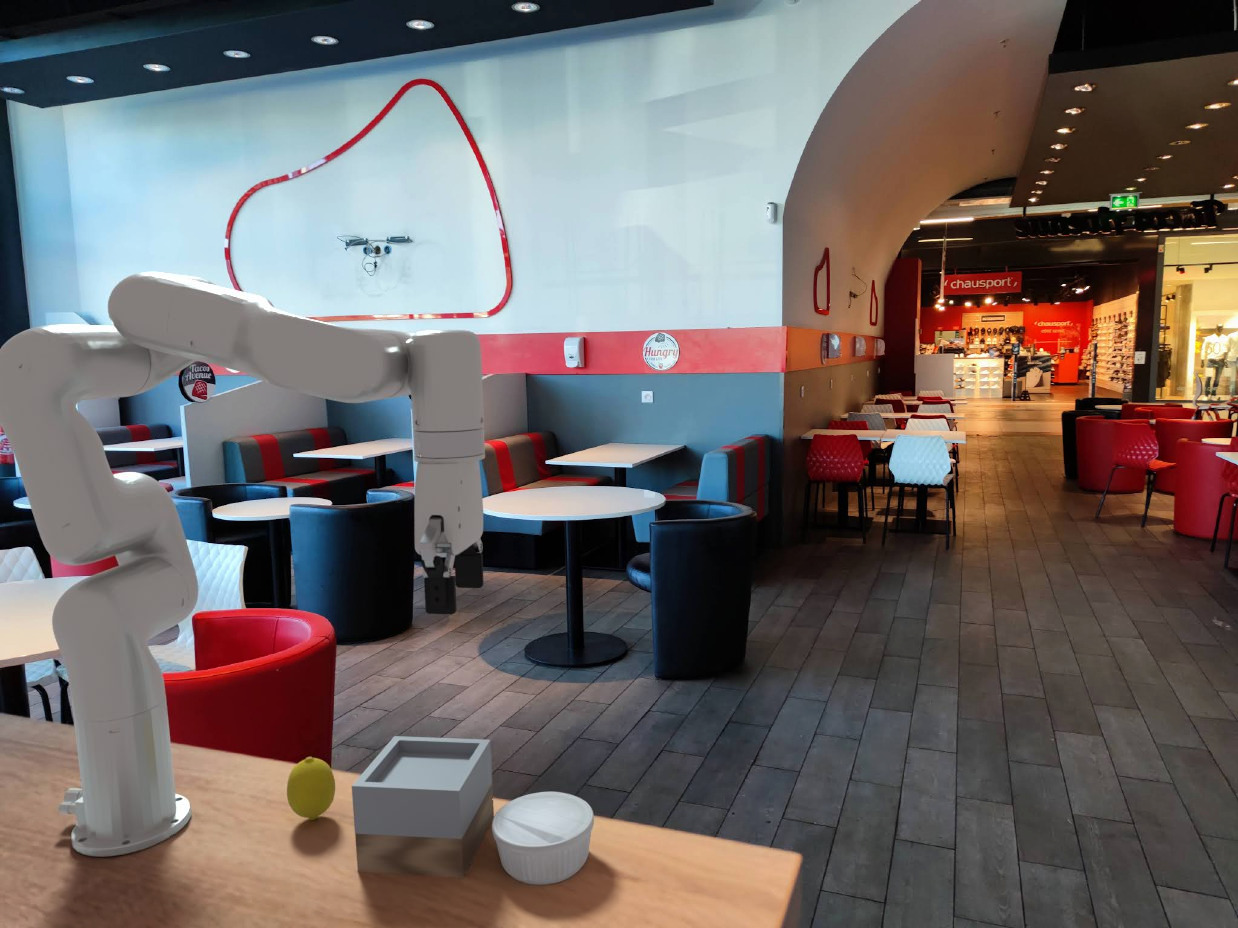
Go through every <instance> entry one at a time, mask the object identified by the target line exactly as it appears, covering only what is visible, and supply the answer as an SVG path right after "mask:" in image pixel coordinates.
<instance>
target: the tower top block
mask: <svg viewBox="0 0 1238 928" xmlns="http://www.w3.org/2000/svg"><path fill="white" fill-rule="evenodd" d="M491 747H492V746H491V739H486V738H485V739H484V738H483V739H482V738H481V739H479V738H456V737H455V738H453V737H428V736H427V737H425V736H423V737H422V736H405V735H404V736H401V735H397V736H396V735H394V736H393V737H392V738H391V740H390V741H389V742H388V743H387V744H386V745H385V746H384V747H383V749H382V750H381V751H380V752H379V753H378V755H376V757H375V758H374V759H373V760H372V761H371V763H369V765H368V767H366V769H365V770H364V771H363V772H362V774H360V775H359V776H358V778H357V779H356V780H355V781H354V783H353V784H352V785H351V796H352V797H351V798H352V811H353V823H354V824H353V825H354V835H355V834H374V835H392V836H411V837H430V838H449V839H462V838H463V836H464V834H465V832H466V830H467V828H468V827H469V825H470V823H471V821H472V819H473V817H474V816H475V814H476V812H477V810H478V808H479V806H480V805H481V803H482V801H483V799H484V797H485V795H486V794H487V792H488V790H489V788H490V786H491V784H492V785H493V772H492V771H493V770H492V769H493V768H492V767H493V766H492V748H491Z"/></svg>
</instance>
